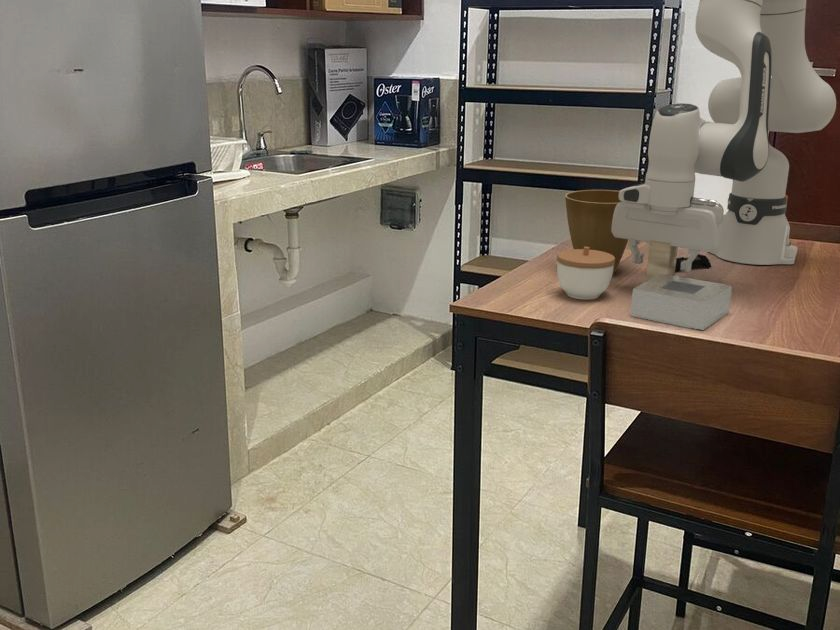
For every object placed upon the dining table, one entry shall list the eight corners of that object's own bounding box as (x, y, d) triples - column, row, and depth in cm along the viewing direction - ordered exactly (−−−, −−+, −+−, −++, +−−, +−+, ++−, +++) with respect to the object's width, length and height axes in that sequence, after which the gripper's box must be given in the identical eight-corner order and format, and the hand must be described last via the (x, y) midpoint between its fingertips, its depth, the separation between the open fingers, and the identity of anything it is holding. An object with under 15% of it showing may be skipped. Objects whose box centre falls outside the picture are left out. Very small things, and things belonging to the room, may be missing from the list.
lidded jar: (599, 306, 154) (603, 257, 151) (545, 297, 160) (548, 248, 157) (619, 293, 163) (624, 245, 160) (568, 284, 168) (571, 238, 165)
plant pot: (576, 258, 188) (581, 187, 183) (642, 268, 180) (649, 193, 176) (549, 273, 176) (553, 197, 171) (618, 284, 169) (624, 204, 164)
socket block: (659, 299, 159) (661, 273, 157) (728, 312, 152) (732, 285, 150) (630, 315, 149) (632, 288, 148) (703, 331, 142) (706, 302, 140)
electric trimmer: (642, 273, 179) (643, 258, 178) (700, 265, 185) (701, 251, 184) (653, 277, 175) (654, 262, 174) (712, 269, 181) (713, 255, 180)
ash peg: (652, 289, 165) (658, 229, 161) (672, 293, 163) (679, 232, 159) (644, 294, 162) (650, 232, 158) (664, 297, 160) (671, 235, 156)
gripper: (730, 198, 153) (721, 272, 157) (624, 186, 165) (618, 255, 169) (719, 203, 148) (709, 279, 152) (610, 190, 160) (605, 261, 164)
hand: (661, 267), depth 161 cm, fingers open, 8 cm apart
